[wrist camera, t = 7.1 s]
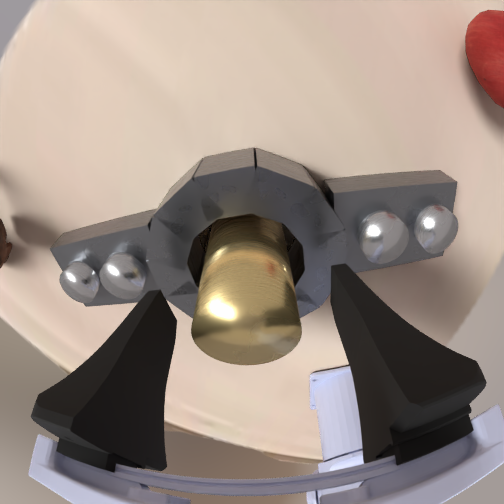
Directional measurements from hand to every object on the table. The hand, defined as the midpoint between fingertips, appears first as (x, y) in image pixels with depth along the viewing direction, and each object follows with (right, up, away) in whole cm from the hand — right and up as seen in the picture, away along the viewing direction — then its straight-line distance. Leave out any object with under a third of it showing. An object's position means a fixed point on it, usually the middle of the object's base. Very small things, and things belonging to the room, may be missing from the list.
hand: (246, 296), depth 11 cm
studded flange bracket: (0, +3, +4) cm, 5 cm away
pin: (0, +3, +4) cm, 5 cm away
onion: (+13, +13, -3) cm, 19 cm away
